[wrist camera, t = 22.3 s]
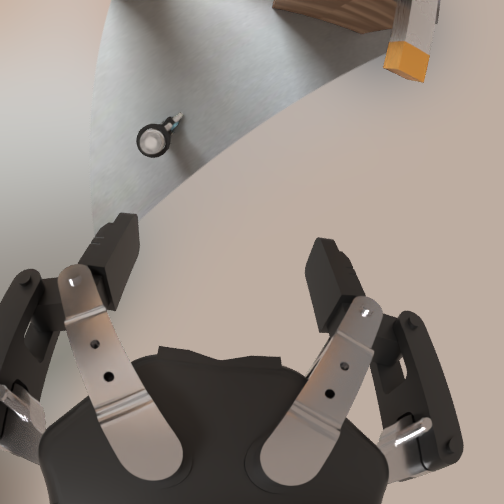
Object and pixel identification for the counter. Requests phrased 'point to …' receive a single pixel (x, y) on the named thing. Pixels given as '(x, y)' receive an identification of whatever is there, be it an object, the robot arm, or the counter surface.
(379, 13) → the stand
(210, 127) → the counter surface
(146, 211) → the counter surface
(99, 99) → the counter surface
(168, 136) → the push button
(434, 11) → the bar
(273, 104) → the counter surface
